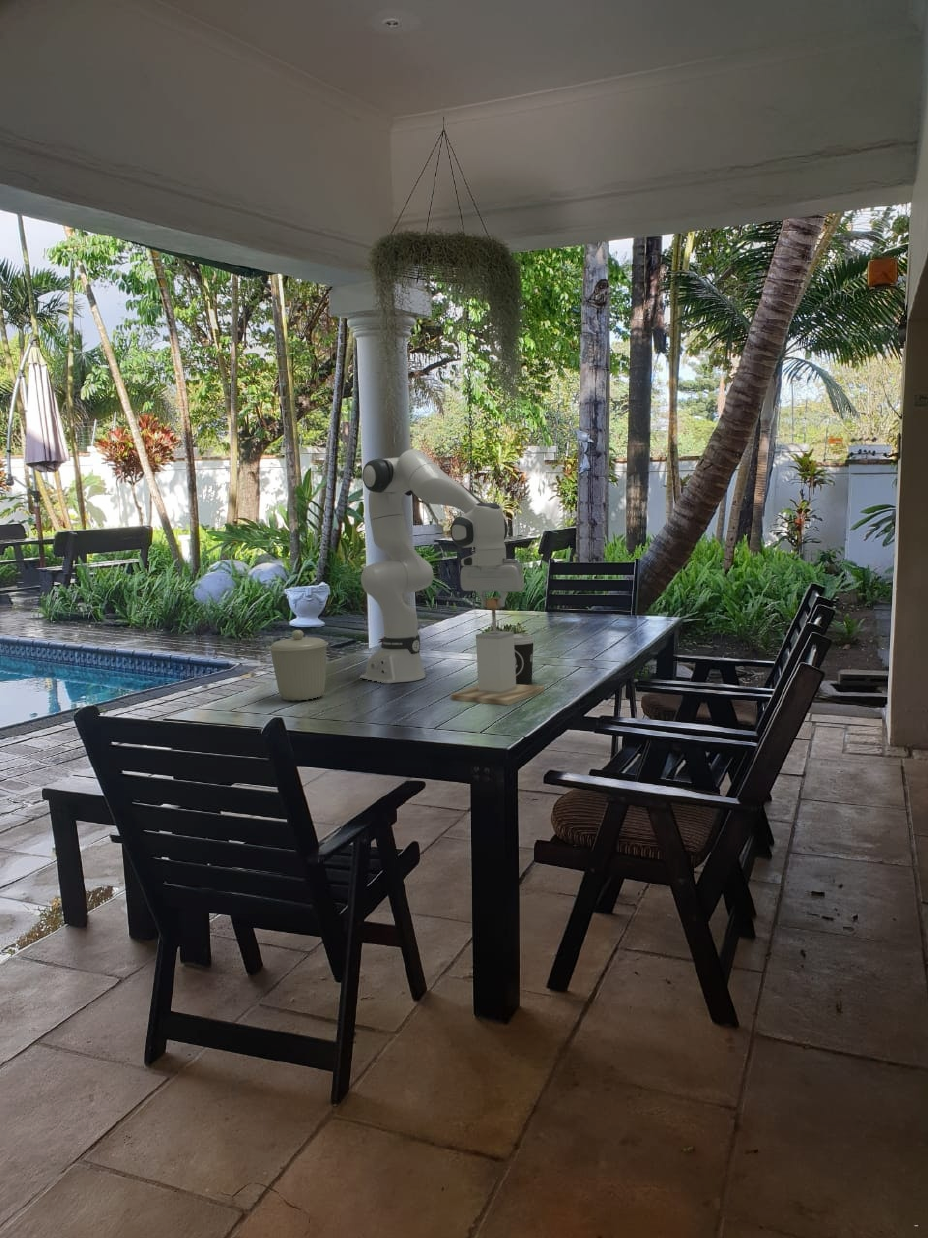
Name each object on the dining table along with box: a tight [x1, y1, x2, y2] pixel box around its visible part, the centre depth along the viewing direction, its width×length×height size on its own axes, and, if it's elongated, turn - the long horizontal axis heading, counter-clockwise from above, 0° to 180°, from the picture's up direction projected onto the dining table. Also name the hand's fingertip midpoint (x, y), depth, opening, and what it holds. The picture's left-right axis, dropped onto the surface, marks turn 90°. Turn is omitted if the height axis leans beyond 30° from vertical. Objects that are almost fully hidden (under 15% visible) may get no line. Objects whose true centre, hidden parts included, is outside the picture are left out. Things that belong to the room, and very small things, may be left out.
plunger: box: [485, 596, 501, 634], centre depth 286 cm, size 6×6×20 cm
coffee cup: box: [514, 633, 536, 685], centre depth 303 cm, size 10×10×15 cm
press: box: [475, 630, 516, 694], centre depth 288 cm, size 8×11×17 cm
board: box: [449, 684, 545, 706], centre depth 288 cm, size 20×20×2 cm
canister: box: [267, 629, 329, 701], centre depth 298 cm, size 18×18×21 cm
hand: (493, 606), depth 285 cm, fingers closed on plunger, 4 cm apart
